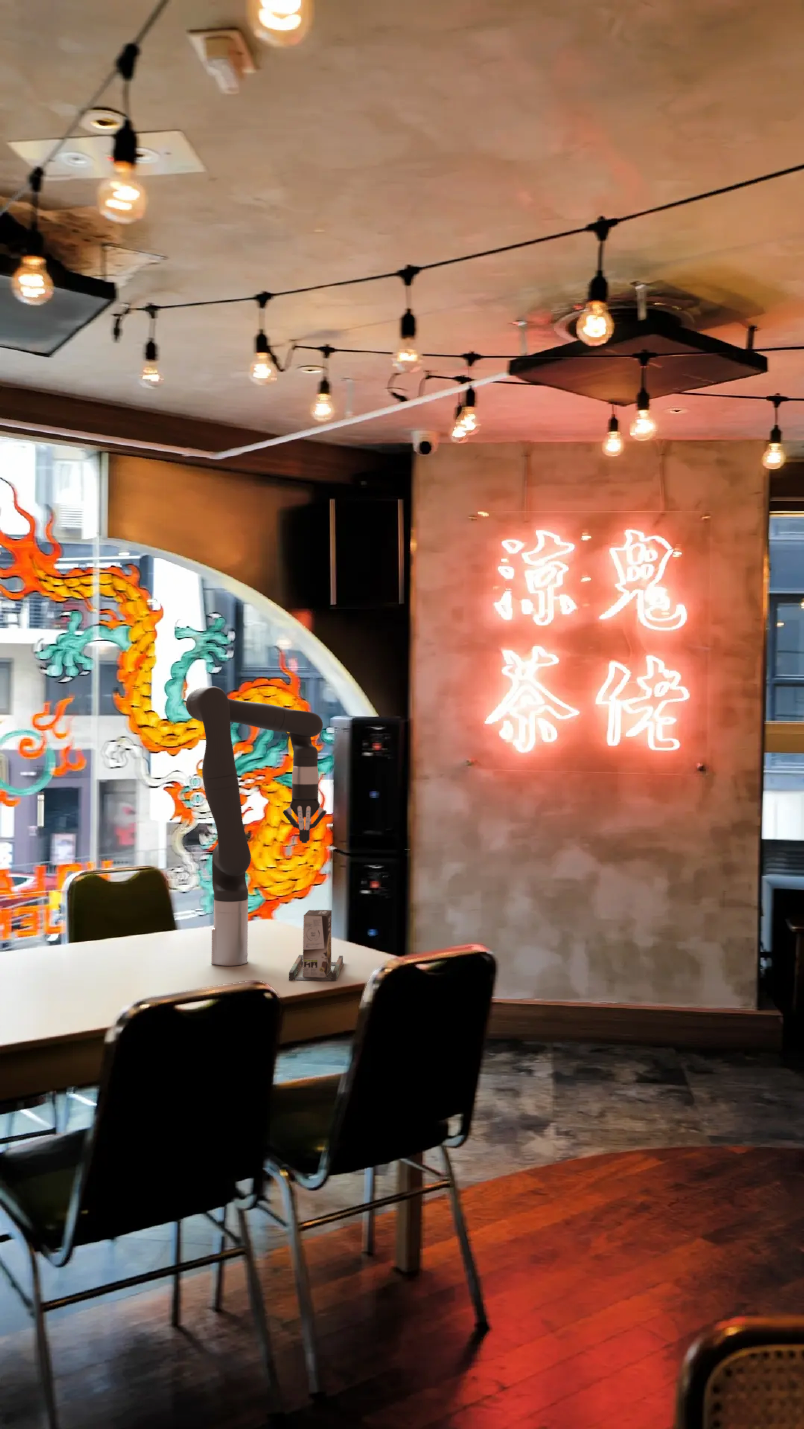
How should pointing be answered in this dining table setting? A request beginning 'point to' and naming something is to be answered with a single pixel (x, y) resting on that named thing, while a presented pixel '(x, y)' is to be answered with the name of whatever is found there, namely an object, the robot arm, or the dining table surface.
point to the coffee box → (317, 943)
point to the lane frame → (334, 976)
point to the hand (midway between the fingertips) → (304, 842)
